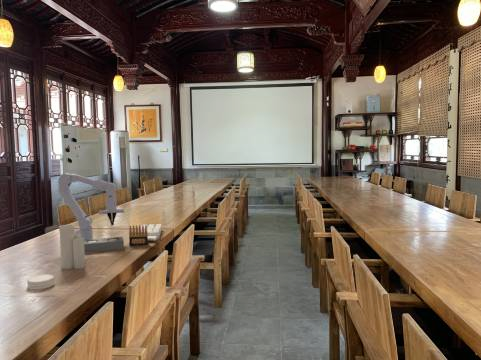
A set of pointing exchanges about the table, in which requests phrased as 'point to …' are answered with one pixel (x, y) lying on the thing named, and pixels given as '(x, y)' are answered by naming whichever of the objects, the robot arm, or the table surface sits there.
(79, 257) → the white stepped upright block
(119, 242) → the block
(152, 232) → the organizer
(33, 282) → the coaster
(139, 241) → the ammunition clip
